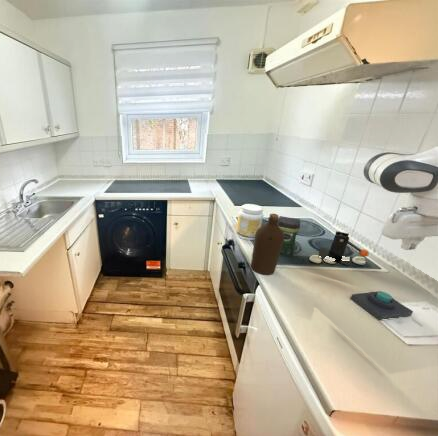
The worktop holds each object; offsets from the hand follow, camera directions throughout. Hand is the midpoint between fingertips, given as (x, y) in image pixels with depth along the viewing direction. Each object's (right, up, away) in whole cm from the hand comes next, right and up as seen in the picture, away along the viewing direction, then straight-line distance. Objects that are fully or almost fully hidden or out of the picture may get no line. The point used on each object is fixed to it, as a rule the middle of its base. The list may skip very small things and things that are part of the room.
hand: (407, 248), depth 72 cm
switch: (+10, -4, +32) cm, 34 cm away
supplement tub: (-24, 0, +59) cm, 64 cm away
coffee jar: (-15, -8, +41) cm, 45 cm away
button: (0, -18, +8) cm, 19 cm away
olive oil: (-30, -13, +30) cm, 44 cm away
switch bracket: (+7, -9, +37) cm, 39 cm away
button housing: (0, -21, +9) cm, 23 cm away
